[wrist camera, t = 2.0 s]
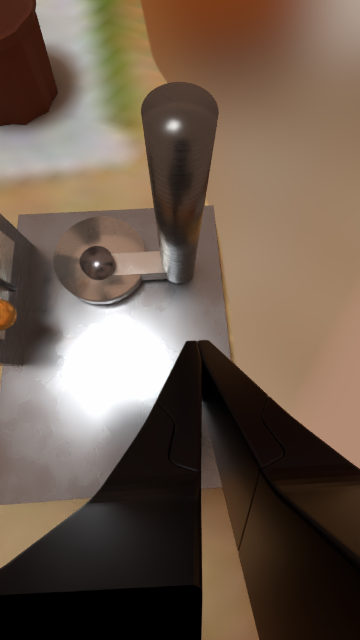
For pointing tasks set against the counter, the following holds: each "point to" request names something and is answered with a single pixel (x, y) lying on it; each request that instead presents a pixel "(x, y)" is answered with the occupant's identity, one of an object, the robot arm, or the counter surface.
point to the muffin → (23, 65)
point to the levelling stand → (91, 358)
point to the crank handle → (168, 198)
